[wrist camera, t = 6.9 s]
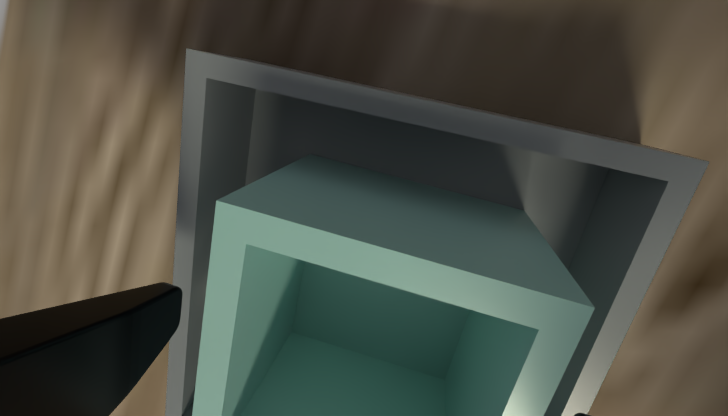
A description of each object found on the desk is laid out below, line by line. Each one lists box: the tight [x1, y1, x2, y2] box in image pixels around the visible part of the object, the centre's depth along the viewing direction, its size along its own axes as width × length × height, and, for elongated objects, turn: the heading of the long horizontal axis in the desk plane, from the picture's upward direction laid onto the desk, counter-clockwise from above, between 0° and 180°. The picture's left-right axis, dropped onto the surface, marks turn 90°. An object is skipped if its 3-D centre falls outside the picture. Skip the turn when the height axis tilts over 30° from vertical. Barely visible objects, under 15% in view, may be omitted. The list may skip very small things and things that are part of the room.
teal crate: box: [192, 154, 595, 416], centre depth 9 cm, size 6×6×5 cm
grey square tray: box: [165, 48, 709, 416], centre depth 11 cm, size 10×10×3 cm
